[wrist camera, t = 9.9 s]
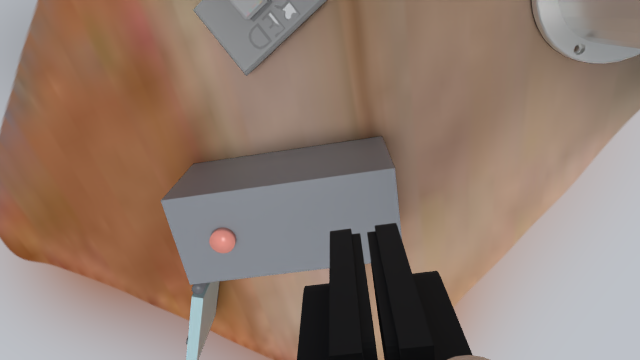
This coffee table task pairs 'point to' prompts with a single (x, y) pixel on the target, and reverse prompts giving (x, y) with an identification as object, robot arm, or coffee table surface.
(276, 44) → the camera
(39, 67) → the coffee table surface
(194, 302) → the side door
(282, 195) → the housing
